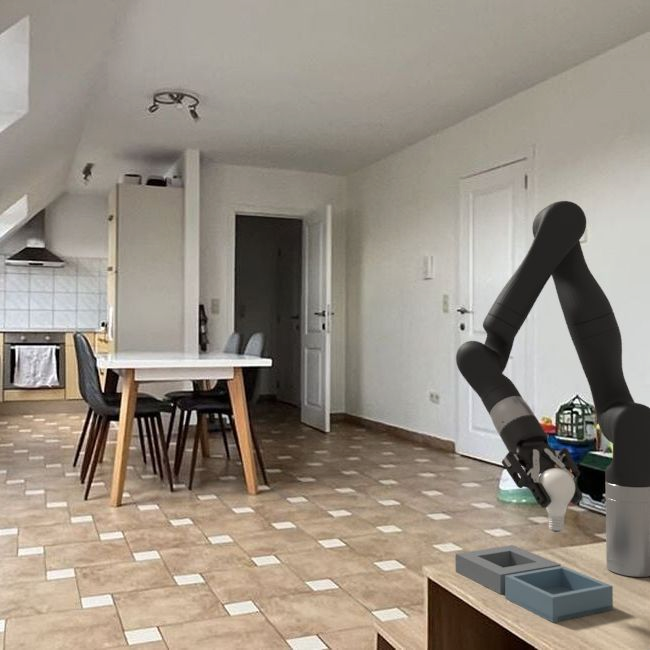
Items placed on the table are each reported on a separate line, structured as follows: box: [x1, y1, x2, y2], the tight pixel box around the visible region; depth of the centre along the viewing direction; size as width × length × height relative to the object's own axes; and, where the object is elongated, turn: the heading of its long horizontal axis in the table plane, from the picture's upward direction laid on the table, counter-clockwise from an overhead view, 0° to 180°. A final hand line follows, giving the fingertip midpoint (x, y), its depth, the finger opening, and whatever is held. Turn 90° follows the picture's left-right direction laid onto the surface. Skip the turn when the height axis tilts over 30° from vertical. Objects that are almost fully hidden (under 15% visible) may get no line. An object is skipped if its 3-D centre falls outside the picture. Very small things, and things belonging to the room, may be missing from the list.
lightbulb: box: [538, 467, 576, 533], centre depth 125 cm, size 6×6×11 cm
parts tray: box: [504, 565, 614, 623], centre depth 124 cm, size 13×12×4 cm
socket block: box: [455, 544, 562, 595], centre depth 138 cm, size 14×14×4 cm
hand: (563, 502), depth 123 cm, fingers closed on lightbulb, 6 cm apart
